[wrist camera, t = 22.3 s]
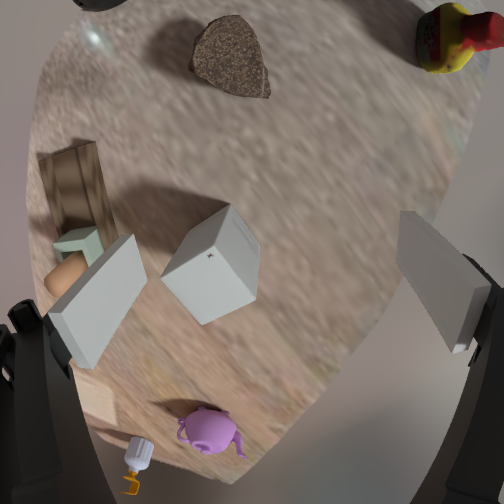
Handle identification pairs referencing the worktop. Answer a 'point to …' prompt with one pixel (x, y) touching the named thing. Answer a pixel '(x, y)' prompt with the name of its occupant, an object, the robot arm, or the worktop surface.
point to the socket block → (80, 244)
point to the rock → (231, 58)
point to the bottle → (455, 37)
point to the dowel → (66, 273)
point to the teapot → (210, 431)
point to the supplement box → (215, 267)
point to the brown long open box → (78, 192)
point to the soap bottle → (137, 460)
